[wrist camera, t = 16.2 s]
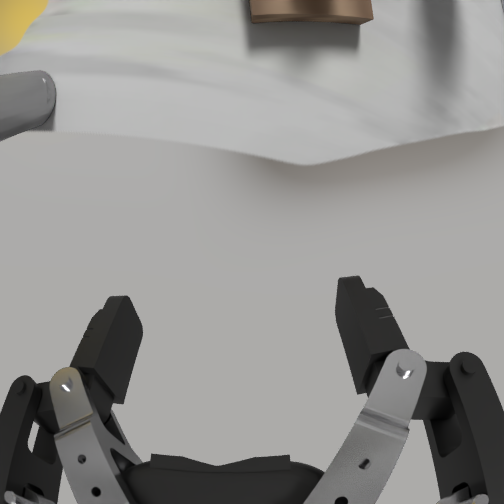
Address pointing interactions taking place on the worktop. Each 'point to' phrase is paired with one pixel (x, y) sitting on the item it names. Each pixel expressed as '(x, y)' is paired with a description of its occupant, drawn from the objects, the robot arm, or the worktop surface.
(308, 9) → the socket block
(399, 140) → the worktop surface
